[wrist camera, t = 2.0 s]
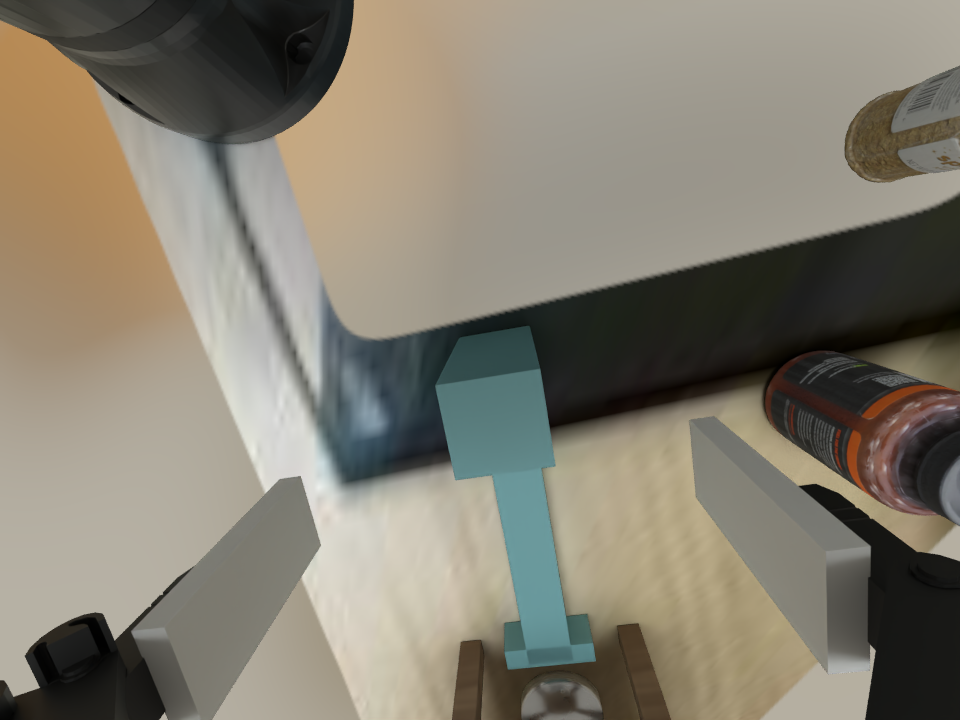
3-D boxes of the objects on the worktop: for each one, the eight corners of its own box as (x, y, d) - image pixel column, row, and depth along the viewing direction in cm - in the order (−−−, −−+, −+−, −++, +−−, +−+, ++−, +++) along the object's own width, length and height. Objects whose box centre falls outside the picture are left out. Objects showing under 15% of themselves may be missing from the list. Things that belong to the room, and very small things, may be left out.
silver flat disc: (515, 670, 36) (515, 689, 34) (594, 663, 35) (598, 681, 34) (527, 731, 37) (528, 752, 36) (604, 725, 36) (607, 745, 35)
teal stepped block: (446, 339, 29) (416, 388, 20) (542, 323, 29) (559, 365, 19) (508, 639, 35) (507, 794, 25) (589, 631, 34) (622, 786, 24)
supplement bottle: (796, 457, 30) (964, 583, 19) (740, 391, 29) (881, 482, 18) (882, 398, 29) (1113, 496, 18) (826, 327, 28) (1032, 383, 17)
